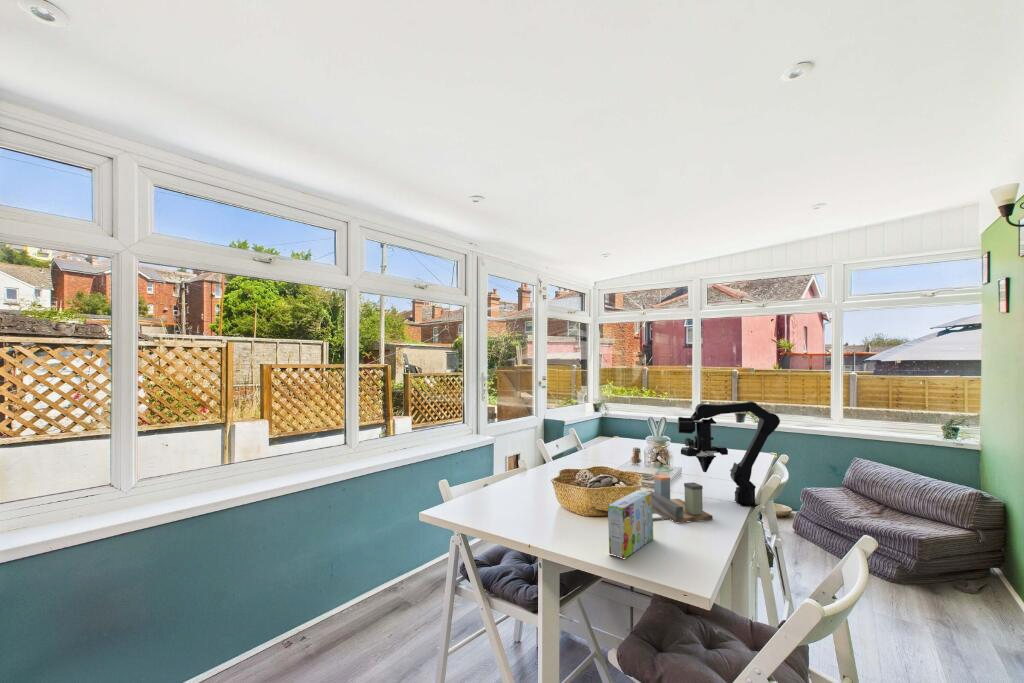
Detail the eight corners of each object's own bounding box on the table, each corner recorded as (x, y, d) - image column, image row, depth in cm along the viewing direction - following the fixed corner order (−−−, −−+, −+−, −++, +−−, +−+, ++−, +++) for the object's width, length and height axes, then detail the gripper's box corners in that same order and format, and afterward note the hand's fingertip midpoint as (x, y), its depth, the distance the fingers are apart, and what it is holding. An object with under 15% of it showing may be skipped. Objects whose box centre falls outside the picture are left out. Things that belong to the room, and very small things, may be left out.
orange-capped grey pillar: (663, 500, 187) (663, 474, 187) (670, 503, 182) (670, 477, 182) (654, 500, 186) (653, 475, 186) (661, 504, 181) (660, 478, 181)
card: (650, 507, 182) (650, 506, 182) (669, 519, 169) (669, 517, 169) (631, 509, 181) (631, 508, 181) (649, 521, 167) (649, 519, 167)
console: (678, 502, 190) (677, 488, 190) (712, 519, 168) (712, 504, 168) (644, 504, 186) (644, 491, 187) (675, 523, 165) (675, 507, 165)
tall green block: (694, 509, 174) (693, 482, 175) (703, 514, 169) (702, 485, 170) (684, 510, 173) (684, 483, 174) (693, 515, 168) (692, 486, 169)
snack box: (637, 535, 153) (637, 489, 154) (654, 539, 150) (653, 492, 151) (607, 555, 137) (606, 504, 138) (625, 560, 133) (624, 507, 134)
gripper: (711, 430, 202) (711, 466, 201) (672, 432, 198) (673, 468, 197) (728, 434, 191) (729, 472, 191) (688, 436, 187) (689, 474, 186)
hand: (704, 472), depth 191 cm, fingers closed
